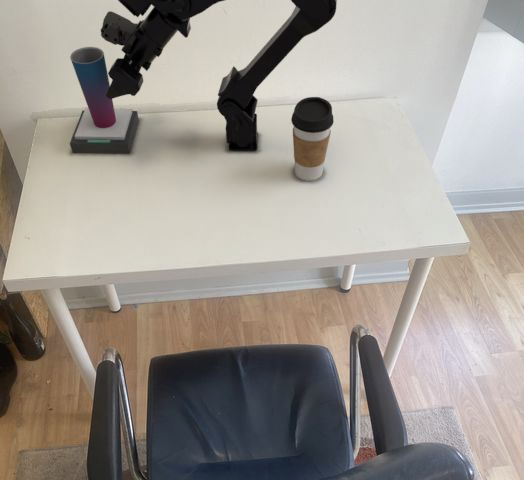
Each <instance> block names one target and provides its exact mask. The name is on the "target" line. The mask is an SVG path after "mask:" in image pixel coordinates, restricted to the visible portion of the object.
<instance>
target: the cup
mask: <svg viewBox="0 0 524 480" xmlns="http://www.w3.org/2000/svg"><path fill="white" fill-rule="evenodd" d="M69 59H70V61H71V65H72V66H73V70H74V73H75V75H76V78H77V80H78V83H79V86H80V89H81V92H82V94H83V97H84V100H85V103H86V105H87V108H89V111H90V114H91V117H92V119H93V122H94V125H95V126H96V127H99V128H108V127H111V126H113V125H114V124H115V123H116V117H115V112H114V109H115V106H114V102H113V99H109V98H108V97H106V94H107V92H108V89H109V87H110V85H111V83H110V80H109V75H108V69H107V68H108V67H107V64H106V58H105V52H104V51H103V49H101V48H99V47H96V46H84V47H80V48H77V49H75V50H73V52H71V53H70V58H69Z"/></svg>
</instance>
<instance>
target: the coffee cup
mask: <svg viewBox="0 0 524 480" xmlns="http://www.w3.org/2000/svg"><path fill="white" fill-rule="evenodd" d="M290 119H291V120H290V121H291V124H292V125H293V127H292V143H293V144H292V145H293V159H294V175H295V176H296V177H297V178H298V179H300V180H302V181H306V182H311V181H316V180H318V179H320V177H321V176H322V174H323V170H324V165H325V160H326V156H327V151H328V146H329V143H330V137H331V131H332V130H331V128H332V126H333V125H334V123H335V122H334V115H333V106H332V104H331V102H330V101H328V100H327V99H325V98H323V97H319V96H309V97H305V98H303V99H301V100H300V101H298V102H297V103H296V104H295V106H294V109H293V113H292V115H291V118H290Z"/></svg>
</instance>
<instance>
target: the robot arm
mask: <svg viewBox="0 0 524 480" xmlns="http://www.w3.org/2000/svg"><path fill="white" fill-rule="evenodd" d="M117 1H118V2H119V3H120V4H121V6H123V7H124V8H125V9H126V10H127V11H128V12H129V13H131V14H132V16H134V17H136V18H139V17H140V15H141V16H142V17H143V16H144V15H145V14H146V13H147V11H148V10H149V9H150V7H151V6H152V9H151V10H150V11H149V13H148V14H147V15H146V17H145V18H144V19H142V20H139V21H138V23H137V22H136V23H135V22H132V21H131V20H130V19H129V18H126V17H125V16H122V15H120V14H118V13H116V12H115V11H111V10H110V11H107V12H106V14H105V16H104V18H103V21H102V26H101V28H100V36H101V38H102V39H104V40H105V41H106V42H108V43H111V44H112V45H115V46H116V45H118V46H122V47H121V52H122V53H124V56H123V57H122V58H121V57H119V58H118V57H117V58H116V59H115V60H114V62H113V63H112V65H111V67H110V69H109V70H108V72H107V74H108V78H110V79H111V82H110V87H109V89H108V92H107V94H106V97H108V98H109V99H112V100H113V99H116V98H119V97H123V96H128V95H130V96H131V97H135V96H136V95H137V94H138V93H139V92H140V90H141V88H142V86H143V84H144V76H143V74H142V73H141V69H144V70H145V71H146V72H148V71H149V70H150V68H151V66H152V63H153V62H154V60H155V59H156V58H159V57H160V56H161V55H162V53H163V51H164V48H165V47H166V46H167V45H168V43H169V42H170V41H171V40H172V39H173V38H174V36H175V35H176V34H177V33H178V32H179V33H180V34H181V35H182V37H184V38H185V39H188V37H189V35H190V32H191V29H192V27H191V21H190V20H191V18H193V17H195V16H198V15H200V14H202V13H203V12H205V11H206V10H208V9H209V8H211V7H212V6H213V5H216V4H218V3H220V2H224V1H226V0H117ZM290 1H291V3H292V4H293V5H294V6H295V7H294V9H293V11H292V12H291V14H290V16H289V17H288V18H287V19H286V20H285V22H284V23H283V24H282V25H281V26H280V27H279V29H277V31H276V32H275V33H274V34H273V35H272V37H271V38H270V39H269V40H268V41H267V42H266V43H265V45H264V46H263V47H262V48H261V49H260V50H259V51H258V52H257V54H255V56H254V57H253V59H252V60H251V61H250V62H249V63H248V64H247V65H246V66H245V67H244V68H242V69H240V70H238V69H237V67H236V66H235V65H234V66H232V67H231V69H230V71H229V72H228V74H227V75H226V76H224V77H222V79H221V83H220V86H219V89H218V93H217V96H218V98H217V100H216V101H217V102H216V109H217V110H218V112H219V114H220V115H221V116H223V117H224V119H225V137H226V138H225V139H226V144H228V149H227V150H228V151H230V152H257V151H258V145H259V133H258V114H257V113H256V110H257V107H258V106H257V105H258V102H259V99H258V98H256V96H255V95H254V94H255V92H256V90H257V88H258V87H259V86H260V85H261V84H262V83H263V82H264V81H265V80H266V78H267V77H268V76H269V75H271V73H272V72H273V71H274V70H275V69H276V68H277V67H278V65H280V63H281V62H282V61H284V59H286V57H287V56H288V55H289V54H290V52H292V50H293V49H294V48H295V47H296V46H297V45H298V44H299V43H300V42H301V41H302V40H303V39H304V38H306V37H307V36H309V35H312V34H314V33H317V32H318V31H319V30H320V29H321V28H323V27H324V26H326V25H327V24H328V23H330V21H331V20H332V19H333V18H334V17H335V15H336V12H337V6H338V5H337V3H338V0H290Z"/></svg>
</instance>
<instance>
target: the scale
mask: <svg viewBox="0 0 524 480" xmlns="http://www.w3.org/2000/svg"><path fill="white" fill-rule="evenodd" d="M114 112H115V117H116V123H115V124H114V125H113V126H111V127H108V128H99V127H96V126H95V125H94V122H93V119H92V117H91V114H90V111H89V108H88V107H87V108H84V109H83V110H81V113H80V116H79V118H78V121H77V124H76V126H75V129H74V131H73V134H72V137H71V139H70V141H69V146H70V149H71V152H72V153H73V154H129V155H130V154H131V150H132V148H133V147H132V146H133V143H134V140H135V137H136V132H137V128H138V126H139V121H140V118H139V114H138V110H133V108H114Z"/></svg>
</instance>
